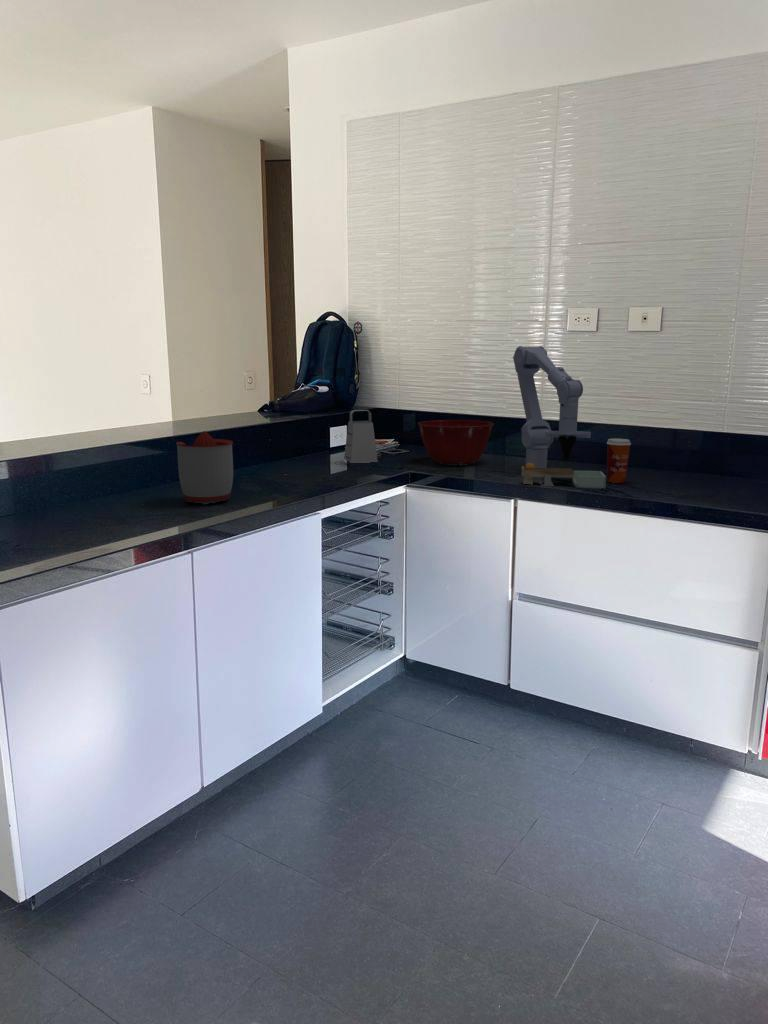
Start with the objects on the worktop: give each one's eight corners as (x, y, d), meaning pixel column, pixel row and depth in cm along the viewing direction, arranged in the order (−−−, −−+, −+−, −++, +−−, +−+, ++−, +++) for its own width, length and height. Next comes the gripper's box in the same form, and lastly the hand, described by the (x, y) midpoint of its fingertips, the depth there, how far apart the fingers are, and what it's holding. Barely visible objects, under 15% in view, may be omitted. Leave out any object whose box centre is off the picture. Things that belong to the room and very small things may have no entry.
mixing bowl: (404, 460, 290) (404, 420, 286) (467, 456, 301) (468, 417, 298) (439, 471, 265) (440, 427, 261) (507, 466, 276) (508, 424, 273)
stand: (539, 481, 245) (539, 470, 244) (551, 482, 244) (552, 470, 243) (541, 486, 237) (541, 474, 236) (553, 486, 236) (554, 474, 236)
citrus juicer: (208, 493, 224) (205, 426, 220) (246, 500, 214) (244, 430, 209) (164, 501, 213) (160, 431, 208) (202, 509, 202) (198, 435, 198)
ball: (524, 471, 242) (524, 462, 241) (534, 472, 242) (534, 462, 241) (524, 473, 239) (525, 463, 238) (535, 473, 239) (535, 463, 238)
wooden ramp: (519, 478, 251) (520, 462, 250) (569, 479, 249) (570, 464, 248) (521, 484, 239) (522, 469, 238) (573, 486, 237) (574, 470, 236)
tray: (572, 481, 245) (572, 470, 244) (600, 482, 244) (601, 471, 243) (576, 488, 234) (576, 476, 233) (605, 488, 233) (606, 476, 232)
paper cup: (612, 484, 240) (615, 441, 237) (599, 480, 247) (602, 438, 244) (633, 483, 242) (636, 440, 239) (620, 479, 249) (623, 437, 246)
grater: (343, 462, 284) (343, 409, 280) (370, 461, 287) (370, 409, 283) (350, 466, 274) (350, 411, 270) (378, 465, 277) (378, 411, 273)
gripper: (546, 418, 239) (544, 460, 242) (593, 419, 237) (590, 461, 240) (544, 416, 246) (542, 457, 249) (589, 417, 244) (587, 458, 247)
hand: (566, 459), depth 245 cm, fingers closed
